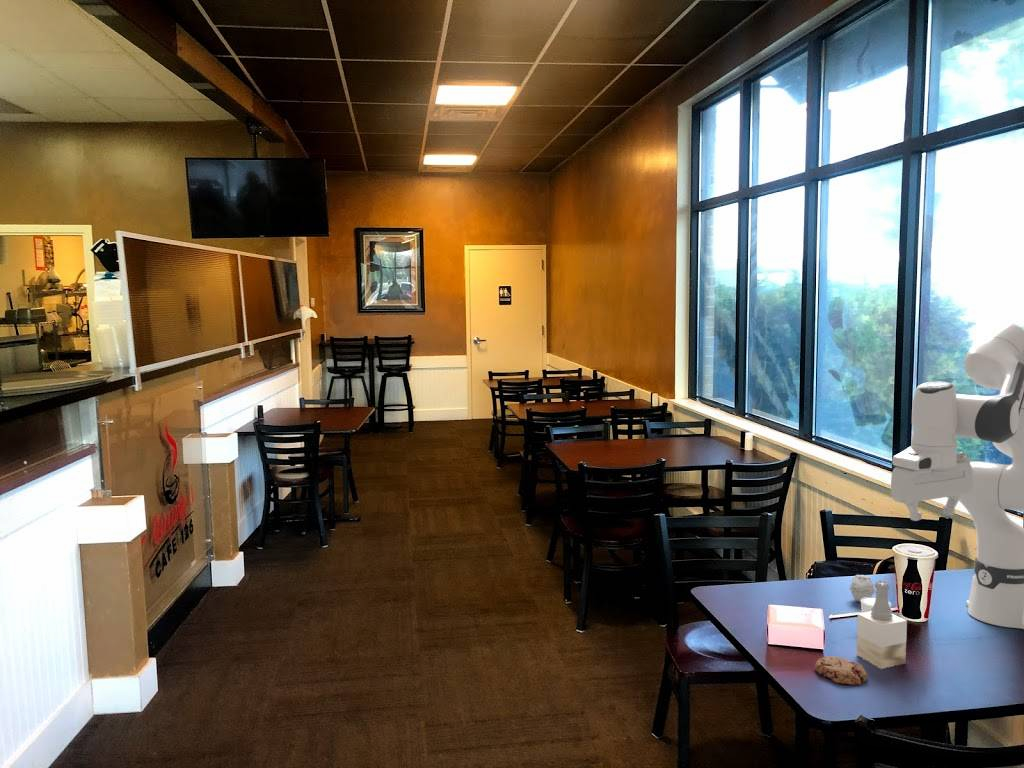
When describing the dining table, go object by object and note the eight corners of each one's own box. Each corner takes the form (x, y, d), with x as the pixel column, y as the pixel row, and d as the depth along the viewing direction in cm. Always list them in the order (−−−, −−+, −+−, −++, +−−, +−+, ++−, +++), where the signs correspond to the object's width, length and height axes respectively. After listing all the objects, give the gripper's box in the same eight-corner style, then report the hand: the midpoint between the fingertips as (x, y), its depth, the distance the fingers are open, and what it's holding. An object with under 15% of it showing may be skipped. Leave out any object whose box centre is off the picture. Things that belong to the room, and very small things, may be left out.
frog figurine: (875, 599, 205) (876, 573, 205) (872, 608, 199) (873, 582, 199) (851, 595, 208) (851, 570, 208) (847, 603, 202) (848, 578, 202)
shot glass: (894, 635, 182) (895, 607, 182) (863, 634, 184) (864, 606, 183) (886, 624, 189) (887, 597, 188) (856, 622, 191) (857, 595, 190)
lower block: (880, 650, 175) (881, 629, 175) (905, 663, 169) (906, 642, 168) (856, 655, 173) (857, 634, 172) (880, 669, 166) (881, 647, 166)
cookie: (818, 660, 171) (818, 648, 171) (870, 671, 166) (870, 658, 166) (810, 679, 163) (810, 666, 163) (864, 691, 158) (864, 677, 157)
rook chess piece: (889, 613, 171) (890, 579, 171) (894, 621, 167) (895, 586, 166) (868, 612, 173) (869, 578, 172) (872, 620, 168) (873, 585, 167)
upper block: (881, 629, 175) (881, 608, 174) (906, 642, 168) (906, 620, 168) (857, 634, 172) (857, 613, 172) (881, 647, 166) (882, 625, 165)
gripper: (957, 448, 173) (955, 507, 174) (886, 458, 167) (885, 519, 168) (982, 453, 167) (980, 514, 169) (909, 463, 161) (908, 527, 162)
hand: (932, 517), depth 168 cm, fingers open, 8 cm apart
